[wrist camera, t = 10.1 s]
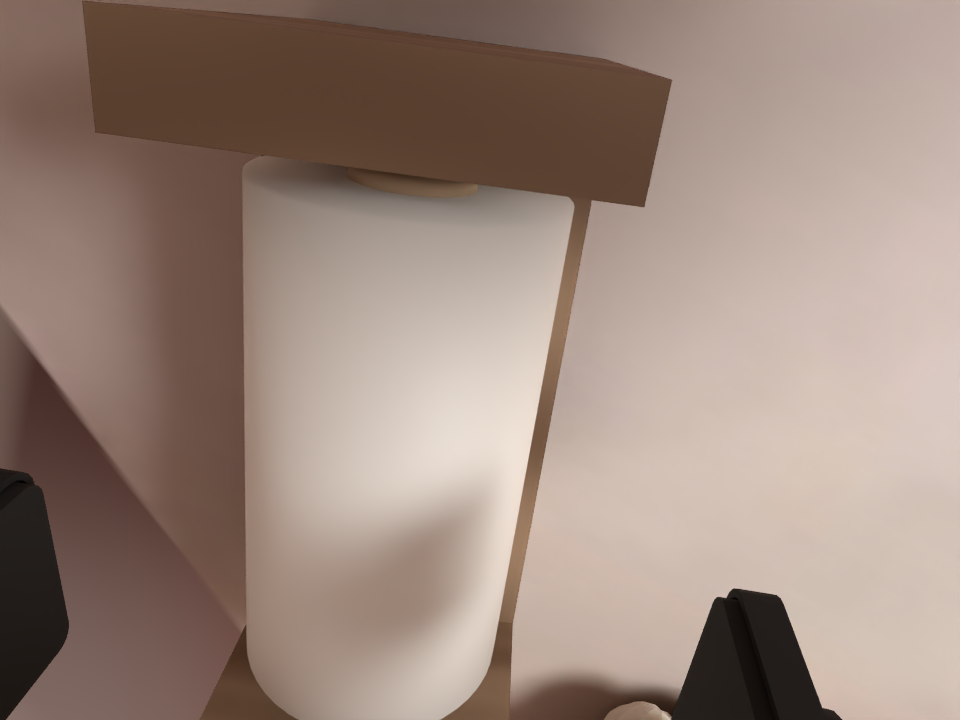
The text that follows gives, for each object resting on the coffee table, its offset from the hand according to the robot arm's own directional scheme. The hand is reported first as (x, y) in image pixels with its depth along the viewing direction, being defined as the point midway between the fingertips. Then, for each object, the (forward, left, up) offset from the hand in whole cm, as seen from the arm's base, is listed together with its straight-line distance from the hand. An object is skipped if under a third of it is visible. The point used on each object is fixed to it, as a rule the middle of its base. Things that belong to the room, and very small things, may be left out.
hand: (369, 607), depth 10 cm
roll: (+1, -1, -9) cm, 9 cm away
